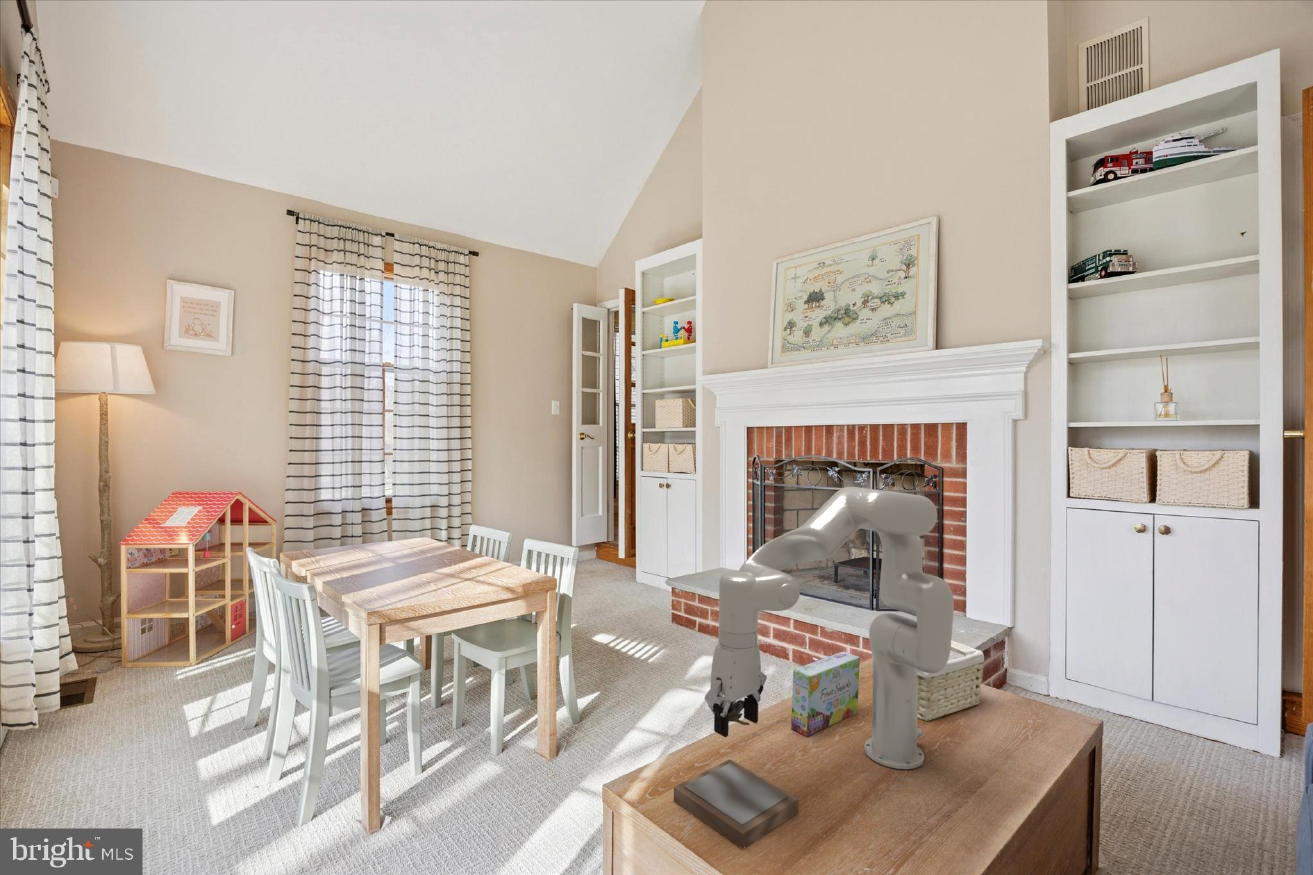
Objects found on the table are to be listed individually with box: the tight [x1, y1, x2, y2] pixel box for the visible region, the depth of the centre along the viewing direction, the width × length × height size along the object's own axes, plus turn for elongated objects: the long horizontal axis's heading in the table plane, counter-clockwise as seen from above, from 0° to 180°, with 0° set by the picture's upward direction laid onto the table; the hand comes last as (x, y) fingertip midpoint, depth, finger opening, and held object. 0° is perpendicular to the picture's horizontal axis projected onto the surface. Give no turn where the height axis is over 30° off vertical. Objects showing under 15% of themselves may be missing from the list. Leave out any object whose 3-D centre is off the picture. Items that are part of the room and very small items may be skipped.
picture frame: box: [673, 758, 800, 850], centre depth 120 cm, size 16×18×3 cm
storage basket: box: [915, 639, 985, 722], centre depth 166 cm, size 24×16×15 cm
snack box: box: [790, 651, 861, 737], centre depth 155 cm, size 21×6×15 cm, turn 129°
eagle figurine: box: [710, 696, 750, 726], centre depth 122 cm, size 8×7×9 cm
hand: (736, 726), depth 119 cm, fingers closed on eagle figurine, 7 cm apart
